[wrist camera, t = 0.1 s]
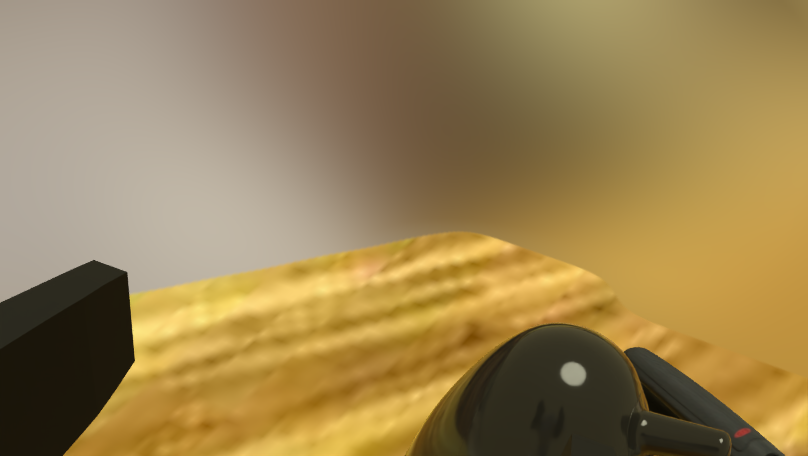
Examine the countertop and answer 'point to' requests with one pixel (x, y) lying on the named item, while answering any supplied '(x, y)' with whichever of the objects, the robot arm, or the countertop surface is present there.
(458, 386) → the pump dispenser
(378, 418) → the countertop surface
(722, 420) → the can opener
